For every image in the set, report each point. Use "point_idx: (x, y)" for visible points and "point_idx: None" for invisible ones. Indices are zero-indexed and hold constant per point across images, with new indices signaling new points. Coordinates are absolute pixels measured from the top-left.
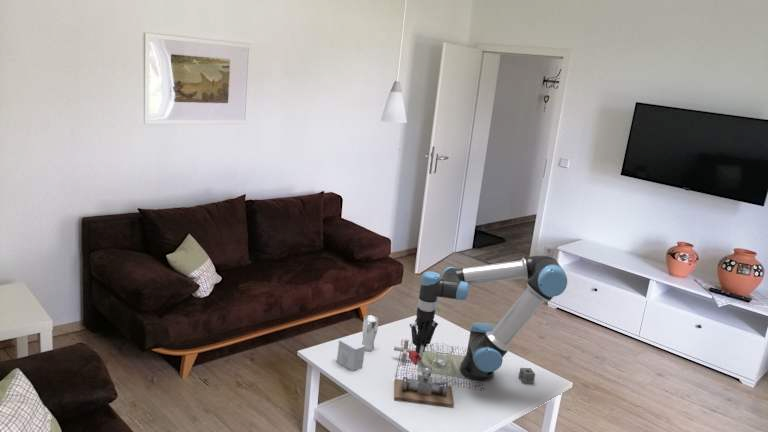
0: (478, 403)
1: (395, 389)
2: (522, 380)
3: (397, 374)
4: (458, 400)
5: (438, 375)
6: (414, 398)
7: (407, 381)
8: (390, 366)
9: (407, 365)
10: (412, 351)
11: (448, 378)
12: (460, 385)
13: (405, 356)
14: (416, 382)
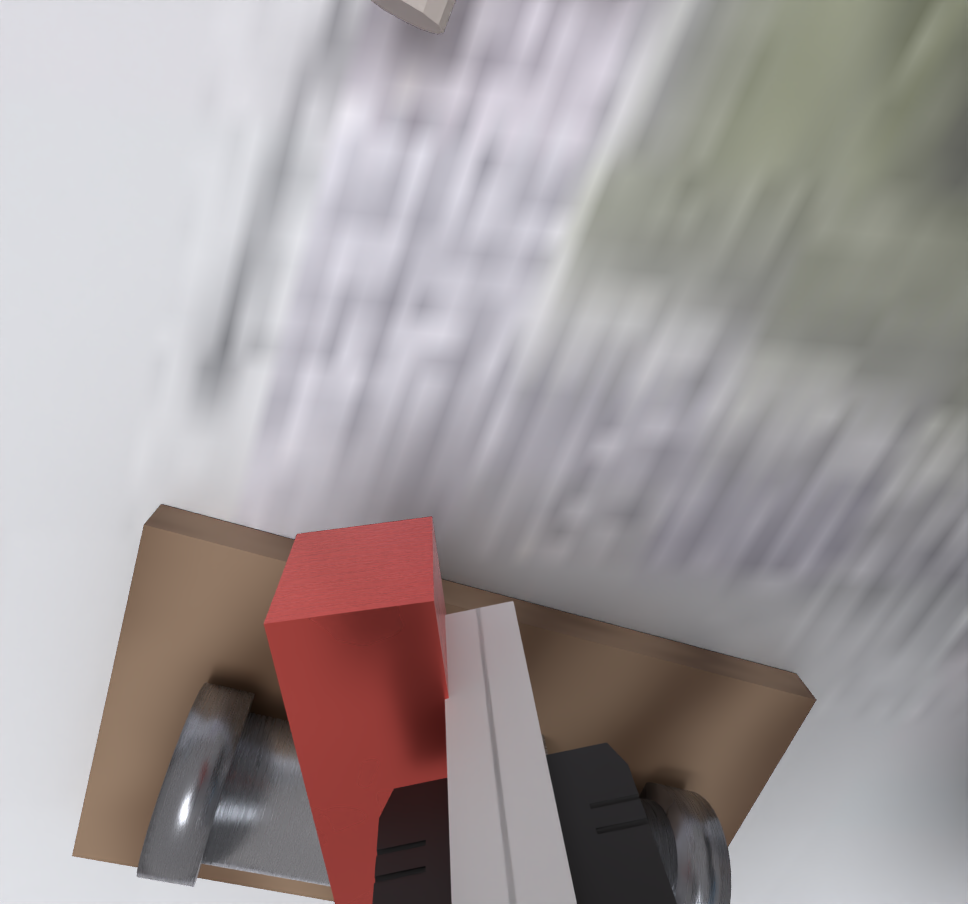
0: (913, 878)
1: (107, 738)
2: None
3: (245, 328)
4: (759, 838)
5: (815, 400)
6: (296, 880)
7: (204, 863)
8: (178, 72)
9: (482, 71)
10: (353, 639)
11: (900, 476)
12: (944, 618)
13: (426, 28)
14: (328, 883)
